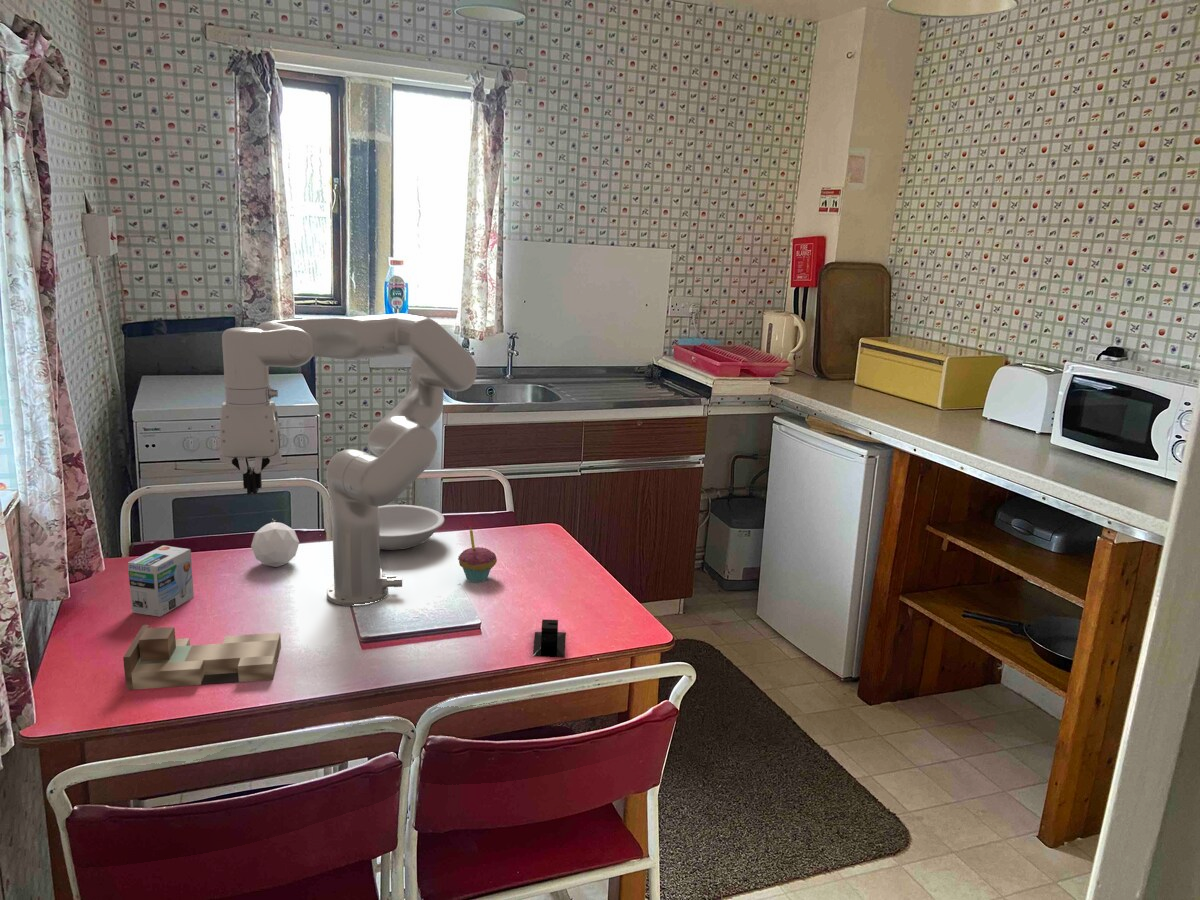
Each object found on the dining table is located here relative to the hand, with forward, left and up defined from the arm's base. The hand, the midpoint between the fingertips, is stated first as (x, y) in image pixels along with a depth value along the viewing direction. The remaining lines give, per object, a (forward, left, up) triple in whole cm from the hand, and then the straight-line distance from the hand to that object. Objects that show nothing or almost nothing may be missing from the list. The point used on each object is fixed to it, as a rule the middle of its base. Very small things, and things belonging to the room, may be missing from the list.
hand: (253, 491), depth 163 cm
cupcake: (-44, -18, -27) cm, 55 cm away
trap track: (+6, +17, -27) cm, 32 cm away
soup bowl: (-26, -42, -27) cm, 56 cm away
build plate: (-54, +16, -28) cm, 63 cm away
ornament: (+1, -34, -27) cm, 44 cm away
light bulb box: (+20, -12, -27) cm, 36 cm away
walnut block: (+14, +16, -24) cm, 32 cm away
